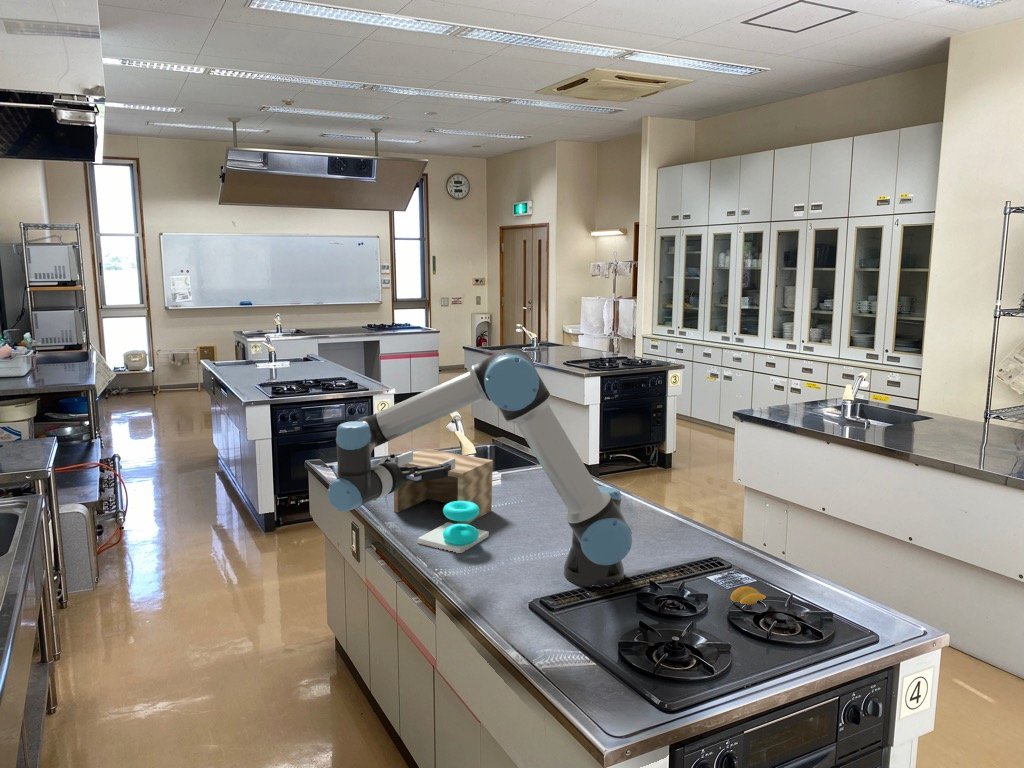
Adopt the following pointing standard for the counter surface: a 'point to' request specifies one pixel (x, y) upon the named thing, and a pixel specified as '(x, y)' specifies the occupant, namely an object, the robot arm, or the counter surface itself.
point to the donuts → (461, 532)
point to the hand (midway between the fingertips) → (432, 459)
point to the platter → (437, 541)
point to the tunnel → (449, 482)
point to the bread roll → (746, 595)
